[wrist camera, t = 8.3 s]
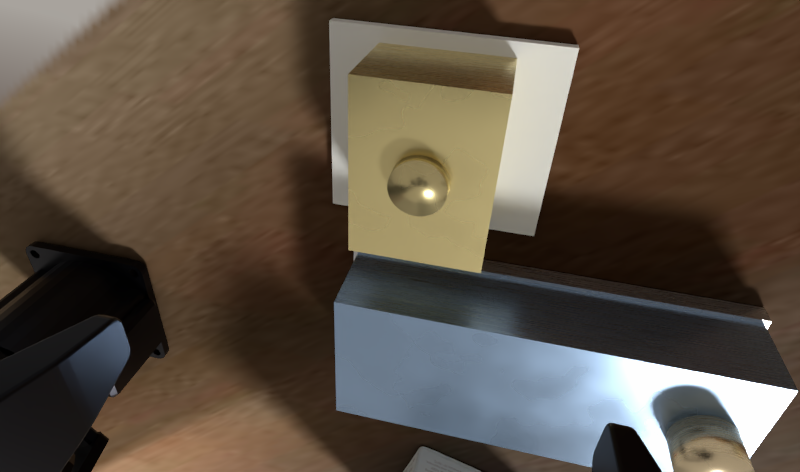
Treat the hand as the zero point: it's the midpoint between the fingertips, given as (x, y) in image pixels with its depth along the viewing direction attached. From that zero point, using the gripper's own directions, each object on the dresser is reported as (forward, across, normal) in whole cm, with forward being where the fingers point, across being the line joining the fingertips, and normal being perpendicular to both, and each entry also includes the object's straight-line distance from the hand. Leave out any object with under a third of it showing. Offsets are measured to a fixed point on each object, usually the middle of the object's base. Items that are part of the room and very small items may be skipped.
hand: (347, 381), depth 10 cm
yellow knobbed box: (+11, 0, 0) cm, 11 cm away
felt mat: (+12, 0, 0) cm, 12 cm away
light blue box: (+12, -5, +9) cm, 15 cm away
